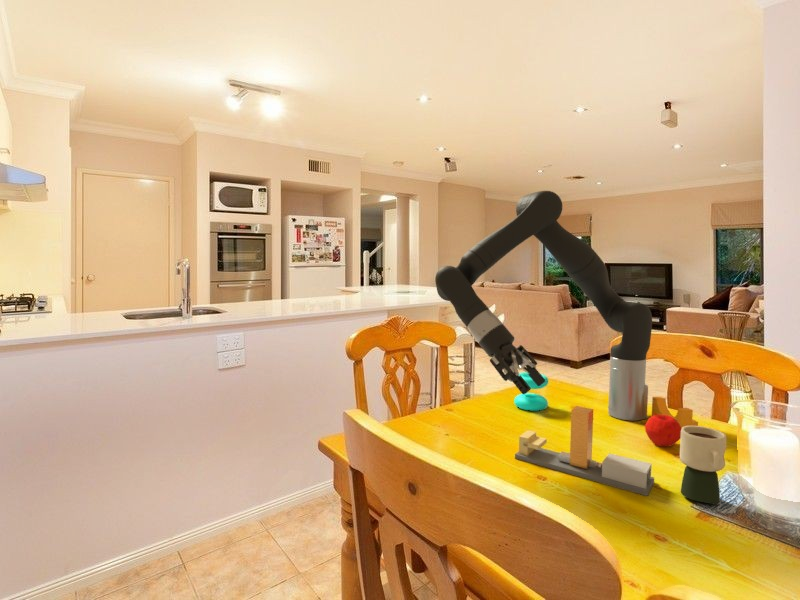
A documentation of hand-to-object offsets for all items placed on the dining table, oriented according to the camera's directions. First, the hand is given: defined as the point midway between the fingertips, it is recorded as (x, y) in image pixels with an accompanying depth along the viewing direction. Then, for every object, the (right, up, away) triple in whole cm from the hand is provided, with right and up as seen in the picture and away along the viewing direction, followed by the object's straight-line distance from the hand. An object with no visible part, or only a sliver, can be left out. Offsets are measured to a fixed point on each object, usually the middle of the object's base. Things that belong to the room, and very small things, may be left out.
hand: (535, 387), depth 103 cm
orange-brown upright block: (+11, -16, -8) cm, 21 cm away
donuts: (+10, -13, +37) cm, 41 cm away
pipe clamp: (+44, -15, +21) cm, 51 cm away
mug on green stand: (+26, -18, -17) cm, 36 cm away
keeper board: (+8, -17, -5) cm, 19 cm away
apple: (+33, -16, +8) cm, 38 cm away
